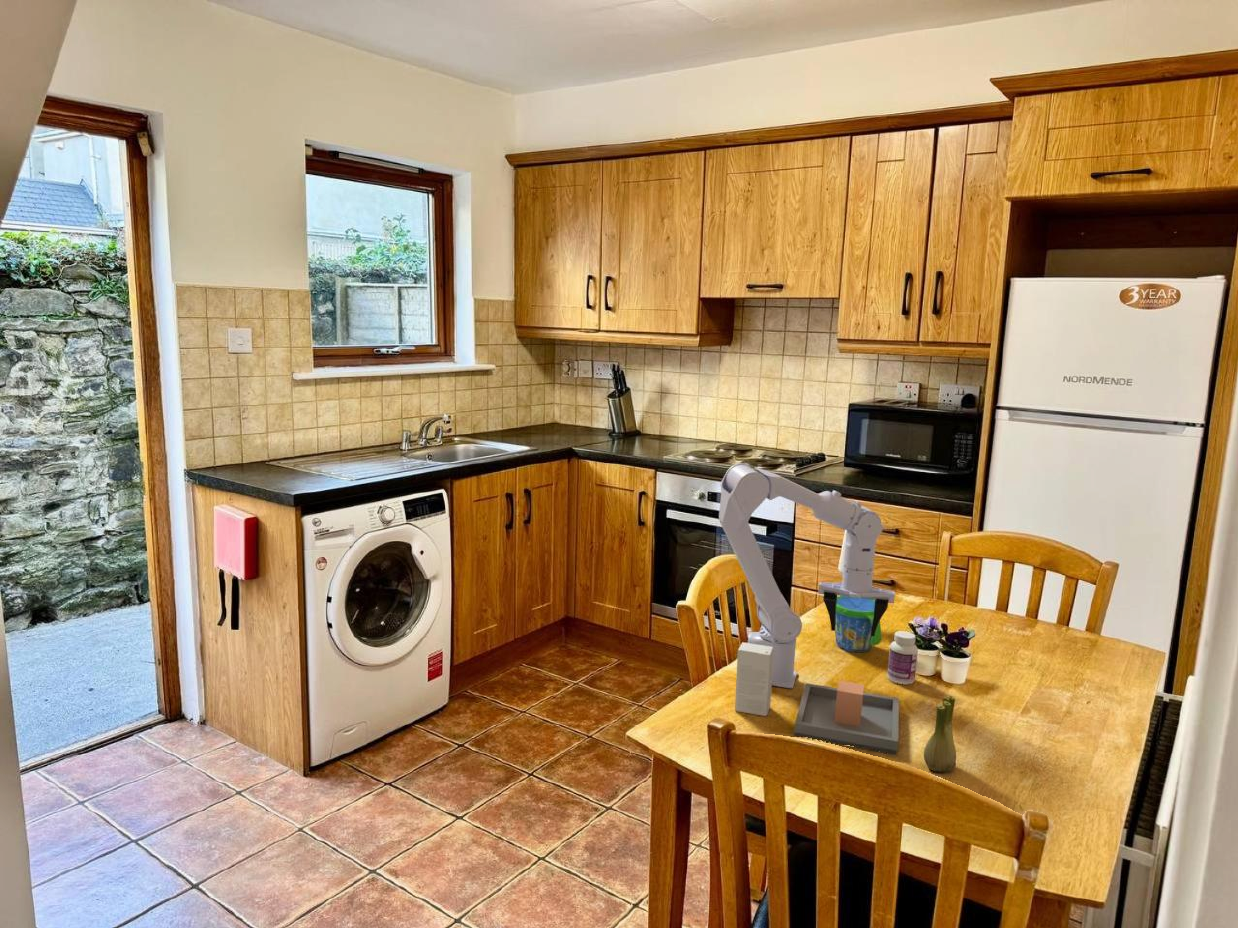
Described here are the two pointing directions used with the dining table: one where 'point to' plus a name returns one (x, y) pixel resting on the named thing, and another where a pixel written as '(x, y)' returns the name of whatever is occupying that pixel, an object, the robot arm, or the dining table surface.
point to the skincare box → (754, 679)
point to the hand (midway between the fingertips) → (852, 631)
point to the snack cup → (855, 624)
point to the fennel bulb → (942, 740)
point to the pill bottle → (902, 658)
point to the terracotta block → (849, 703)
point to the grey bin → (871, 735)
